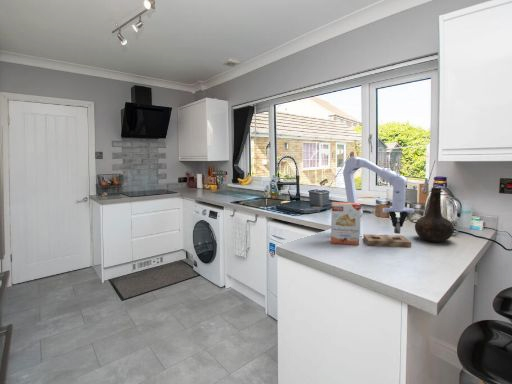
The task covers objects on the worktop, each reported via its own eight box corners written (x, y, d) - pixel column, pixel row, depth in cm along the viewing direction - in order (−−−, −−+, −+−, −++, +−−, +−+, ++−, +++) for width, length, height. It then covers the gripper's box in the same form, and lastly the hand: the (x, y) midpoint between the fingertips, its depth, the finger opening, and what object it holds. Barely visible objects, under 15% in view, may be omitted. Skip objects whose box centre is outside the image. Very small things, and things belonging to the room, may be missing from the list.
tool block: (368, 245, 145) (368, 240, 145) (363, 238, 157) (363, 234, 156) (411, 247, 142) (411, 242, 142) (402, 240, 154) (403, 235, 153)
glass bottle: (433, 246, 143) (437, 190, 140) (406, 236, 160) (409, 186, 157) (461, 243, 148) (466, 188, 144) (432, 234, 165) (435, 185, 162)
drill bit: (395, 233, 147) (395, 217, 146) (393, 232, 149) (394, 216, 148) (400, 233, 146) (401, 218, 145) (399, 232, 149) (399, 216, 148)
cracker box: (330, 243, 148) (331, 203, 146) (330, 240, 154) (331, 201, 152) (359, 245, 145) (361, 204, 143) (358, 242, 151) (359, 202, 148)
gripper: (385, 200, 143) (384, 227, 145) (417, 201, 141) (415, 228, 142) (381, 198, 150) (380, 224, 152) (411, 199, 148) (410, 225, 149)
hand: (397, 226), depth 147 cm, fingers closed on drill bit, 3 cm apart
